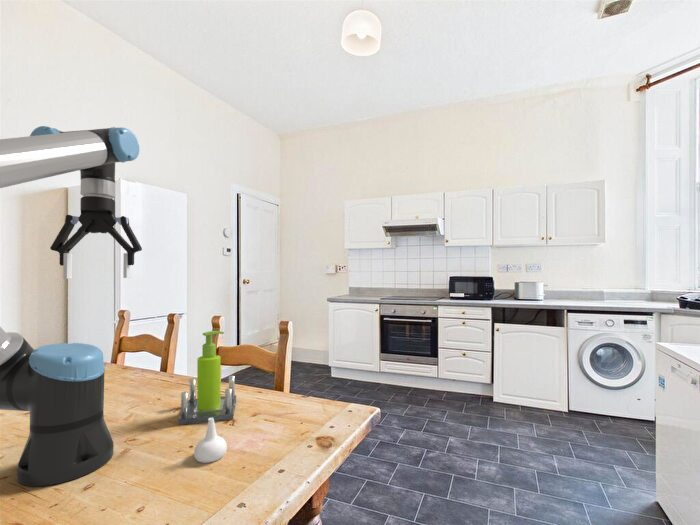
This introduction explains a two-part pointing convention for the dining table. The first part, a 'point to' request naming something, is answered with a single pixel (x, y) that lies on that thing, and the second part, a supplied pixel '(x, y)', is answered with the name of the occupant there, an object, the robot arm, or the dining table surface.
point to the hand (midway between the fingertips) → (97, 278)
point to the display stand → (195, 415)
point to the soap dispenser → (209, 375)
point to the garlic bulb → (210, 445)
